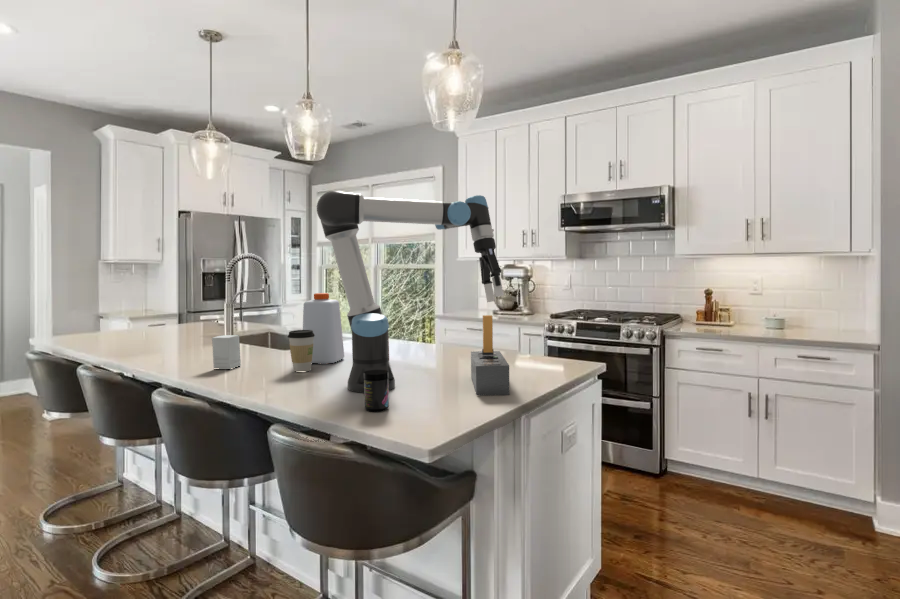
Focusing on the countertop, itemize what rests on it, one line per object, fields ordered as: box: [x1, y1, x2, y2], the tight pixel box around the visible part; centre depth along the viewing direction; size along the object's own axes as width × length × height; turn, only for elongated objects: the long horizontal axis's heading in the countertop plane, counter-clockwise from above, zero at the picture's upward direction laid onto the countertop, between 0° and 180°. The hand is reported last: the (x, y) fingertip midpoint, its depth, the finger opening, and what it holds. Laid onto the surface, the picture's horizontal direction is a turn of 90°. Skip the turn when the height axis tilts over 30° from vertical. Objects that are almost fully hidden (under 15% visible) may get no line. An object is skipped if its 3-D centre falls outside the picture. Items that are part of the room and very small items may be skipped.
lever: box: [481, 314, 495, 355], centre depth 178 cm, size 2×4×13 cm, turn 91°
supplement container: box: [363, 370, 390, 413], centre depth 149 cm, size 7×7×10 cm
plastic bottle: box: [302, 292, 345, 365], centre depth 223 cm, size 15×15×28 cm
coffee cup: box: [287, 329, 315, 372], centre depth 204 cm, size 10×10×15 cm
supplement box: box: [211, 334, 242, 369], centre depth 211 cm, size 7×7×13 cm
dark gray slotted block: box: [470, 350, 510, 396], centre depth 183 cm, size 40×10×9 cm, turn 1°
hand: (495, 299), depth 188 cm, fingers open, 13 cm apart
